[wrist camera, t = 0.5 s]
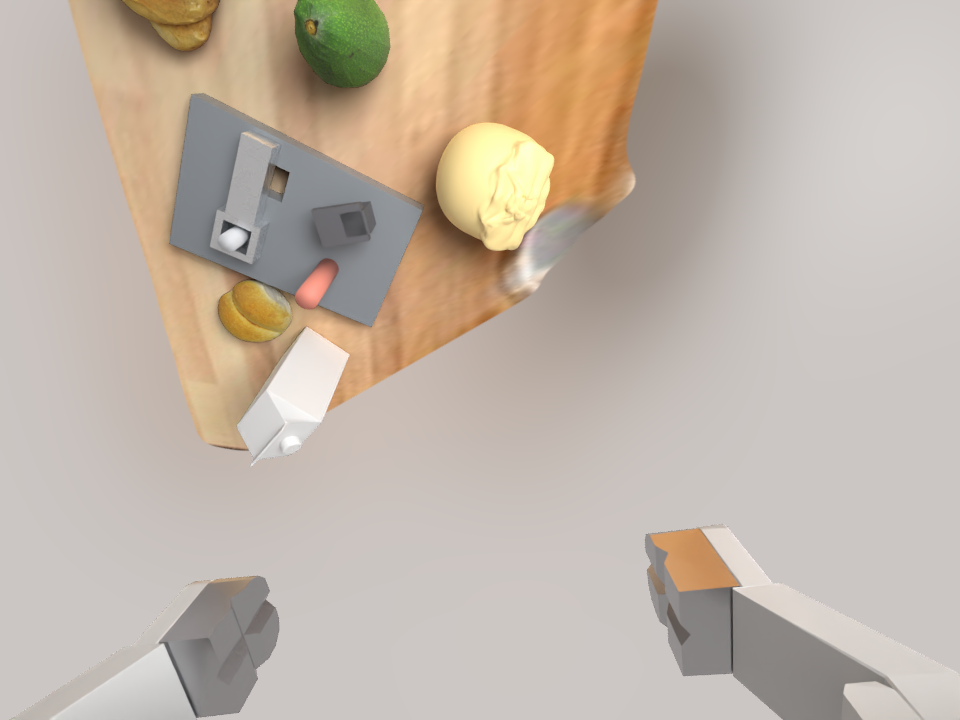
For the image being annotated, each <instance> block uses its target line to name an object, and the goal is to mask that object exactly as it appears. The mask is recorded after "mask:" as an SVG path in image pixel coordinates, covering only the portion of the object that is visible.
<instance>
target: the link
mask: <svg viewBox="0 0 960 720" xmlns="http://www.w3.org/2000/svg"><path fill="white" fill-rule="evenodd" d="M280 146H281V145H280V144H278V143H276V142H274V141H272V140H270V139H268V138H266V137H264V136H262V135H260V134H258V133H256V132H254V131H252V130H251V131H247V132H243V133H241V137H240V142H239V147H238V152H237V157H236V162H235V166H234V171H233V176H232V181H231V186H230V190H229V195H228V200H227V204H226V205H224V206H223V207H221V208H219V209H217V212H216V218H215V223H214V228H213V233H212V238H211V243H210V247H212V248H214V249H216V250H219V251H221V252H224V253H226V254H228V255H231V256H233V257H235V258H238V259H240V260H243V261H245V262H247V263H250V264H253V263H254V262H255V261H256V260H257V259H258V258H259V257H260V255H261V252H262V248H263V244H264V240H265V236H266V233H267V229H268V225H269V222H267V221H265V220H263V219H262V218H263V214H264V210H265V206H266V202H267V198H268V194H269V190H270V186H271V182H272V178H273V174H274V170H275V166H276V162H277V158H278V154H279V150H280ZM231 223H232V224H235V225H237V226H239V227H242V228H244V229H246V230H248V231H251V232H252V233H251V237H250V241H249V245H246V244H243V245H242V246H240V247H239V248H238V249H236V250H235V251H234V252H226V251H224V250H222V249H221V248H220V246H219V245H218V242H217V240H218V237H219V236H220V235H221V234H223V233H224V232H226V231H227V230H229V229H230V228H231Z"/></svg>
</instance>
